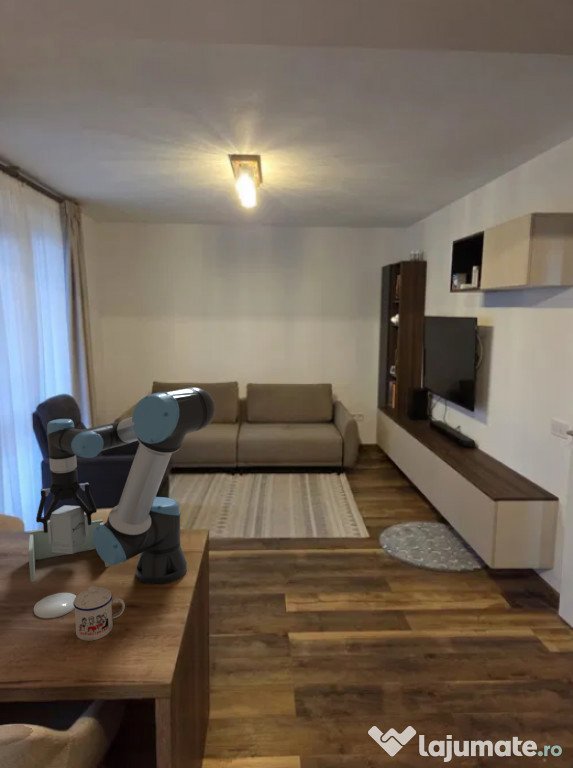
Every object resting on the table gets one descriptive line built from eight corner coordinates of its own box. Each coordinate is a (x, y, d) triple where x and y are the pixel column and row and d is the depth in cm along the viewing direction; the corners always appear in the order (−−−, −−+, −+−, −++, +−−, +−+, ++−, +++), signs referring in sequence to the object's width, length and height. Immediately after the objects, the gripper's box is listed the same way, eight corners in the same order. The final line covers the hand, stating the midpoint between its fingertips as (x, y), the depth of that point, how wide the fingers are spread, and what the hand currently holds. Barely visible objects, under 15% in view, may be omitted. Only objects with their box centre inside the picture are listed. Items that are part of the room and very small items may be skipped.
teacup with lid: (75, 646, 120) (72, 601, 118) (75, 624, 128) (72, 582, 127) (127, 633, 125) (125, 590, 123) (123, 613, 133) (122, 572, 131)
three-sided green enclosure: (31, 559, 161) (29, 531, 160) (103, 545, 171) (102, 519, 169) (30, 582, 148) (28, 552, 146) (109, 566, 157) (107, 537, 156)
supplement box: (72, 554, 152) (70, 515, 151) (51, 552, 154) (48, 513, 152) (87, 543, 160) (84, 506, 158) (66, 542, 161) (63, 504, 159)
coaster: (86, 596, 140) (86, 594, 140) (62, 620, 130) (62, 618, 130) (50, 592, 142) (50, 590, 142) (24, 616, 131) (24, 613, 131)
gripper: (101, 461, 161) (105, 526, 164) (23, 471, 152) (28, 540, 155) (103, 467, 155) (108, 535, 158) (22, 478, 145) (28, 550, 148)
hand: (68, 538), depth 156 cm, fingers closed on supplement box, 10 cm apart
